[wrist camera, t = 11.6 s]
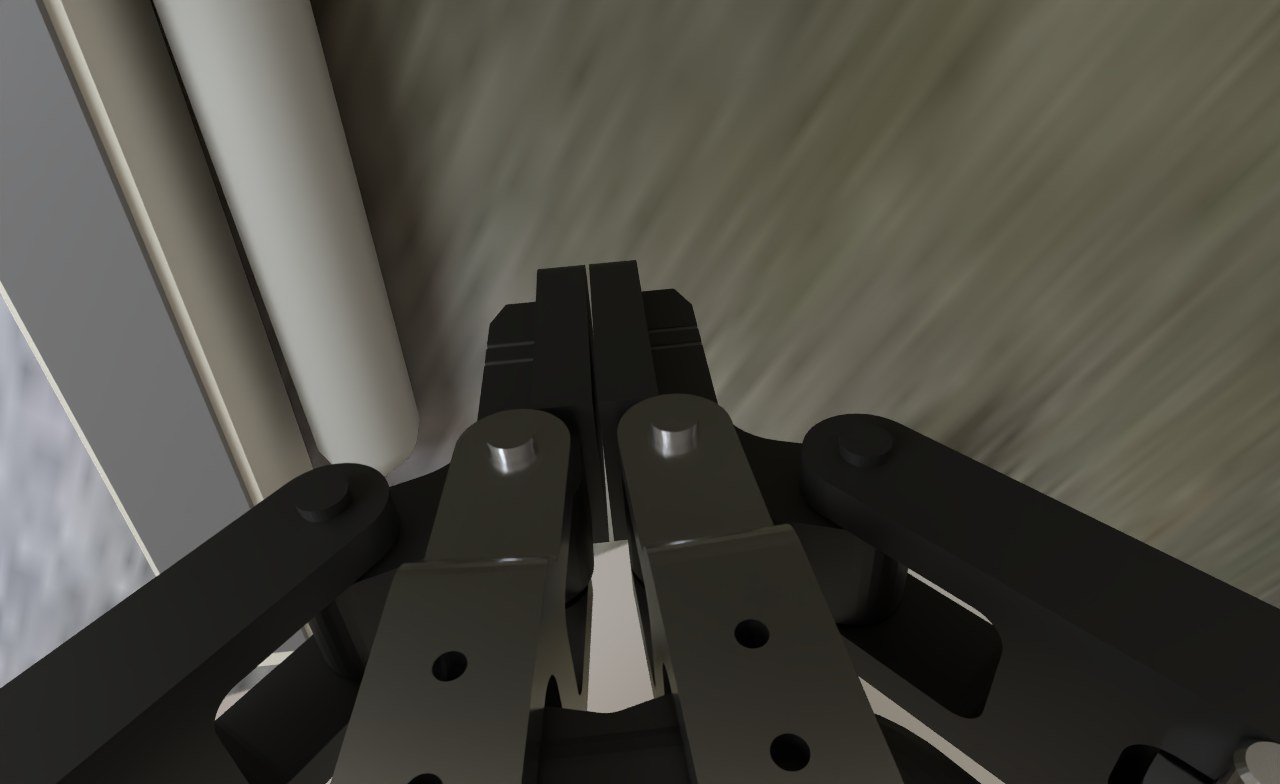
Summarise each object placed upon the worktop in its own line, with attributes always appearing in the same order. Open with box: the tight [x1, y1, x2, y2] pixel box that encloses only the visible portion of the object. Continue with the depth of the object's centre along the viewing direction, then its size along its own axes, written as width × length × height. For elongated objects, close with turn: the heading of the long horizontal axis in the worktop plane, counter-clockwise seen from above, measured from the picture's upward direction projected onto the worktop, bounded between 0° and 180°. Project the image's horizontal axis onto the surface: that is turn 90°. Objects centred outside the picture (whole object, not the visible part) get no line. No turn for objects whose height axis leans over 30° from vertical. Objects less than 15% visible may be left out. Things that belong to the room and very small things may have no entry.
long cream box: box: [0, 0, 313, 667], centre depth 34 cm, size 9×36×6 cm, turn 2°
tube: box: [153, 0, 420, 477], centre depth 33 cm, size 5×5×25 cm
